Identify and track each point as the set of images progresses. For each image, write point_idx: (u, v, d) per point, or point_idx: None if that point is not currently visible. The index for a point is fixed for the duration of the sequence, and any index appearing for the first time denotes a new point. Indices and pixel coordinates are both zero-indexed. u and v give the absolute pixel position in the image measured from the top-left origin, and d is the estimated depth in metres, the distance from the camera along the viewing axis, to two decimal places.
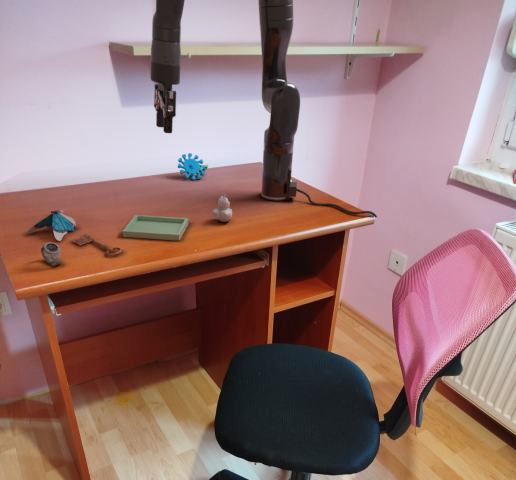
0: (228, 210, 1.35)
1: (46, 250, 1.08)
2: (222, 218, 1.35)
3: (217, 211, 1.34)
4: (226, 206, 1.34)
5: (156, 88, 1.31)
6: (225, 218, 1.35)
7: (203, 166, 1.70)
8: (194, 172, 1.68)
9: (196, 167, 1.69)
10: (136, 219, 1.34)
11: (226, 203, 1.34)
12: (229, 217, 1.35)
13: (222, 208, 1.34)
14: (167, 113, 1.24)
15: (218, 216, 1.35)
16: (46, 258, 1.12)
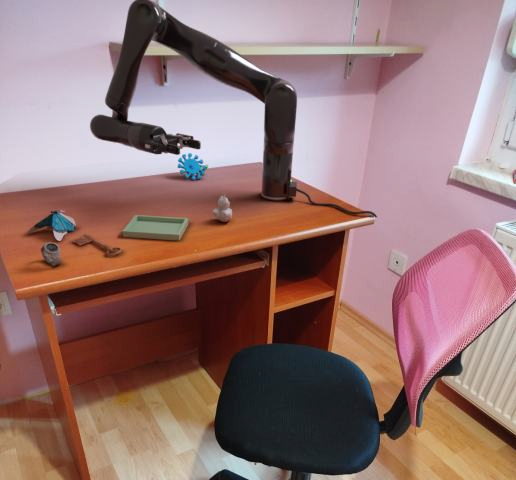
0: (228, 210, 1.35)
1: (46, 250, 1.08)
2: (222, 218, 1.35)
3: (217, 211, 1.34)
4: (226, 206, 1.34)
5: (178, 142, 1.41)
6: (225, 218, 1.35)
7: (203, 166, 1.70)
8: (194, 172, 1.68)
9: (196, 167, 1.69)
10: (136, 219, 1.34)
11: (226, 203, 1.34)
12: (229, 217, 1.35)
13: (222, 208, 1.34)
14: (157, 152, 1.30)
15: (218, 215, 1.35)
16: (46, 258, 1.12)
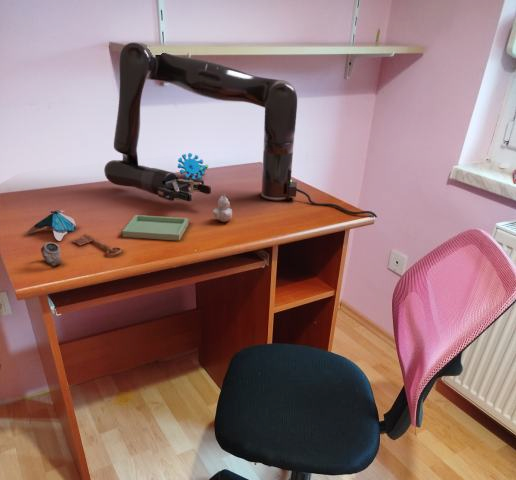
0: (228, 210, 1.35)
1: (46, 250, 1.08)
2: (222, 218, 1.35)
3: (217, 211, 1.34)
4: (226, 206, 1.34)
5: (189, 186, 1.46)
6: (225, 218, 1.35)
7: (203, 166, 1.70)
8: (194, 172, 1.68)
9: (196, 167, 1.69)
10: (136, 219, 1.34)
11: (226, 203, 1.34)
12: (229, 217, 1.35)
13: (222, 208, 1.34)
14: (170, 199, 1.36)
15: (218, 215, 1.35)
16: (46, 258, 1.12)
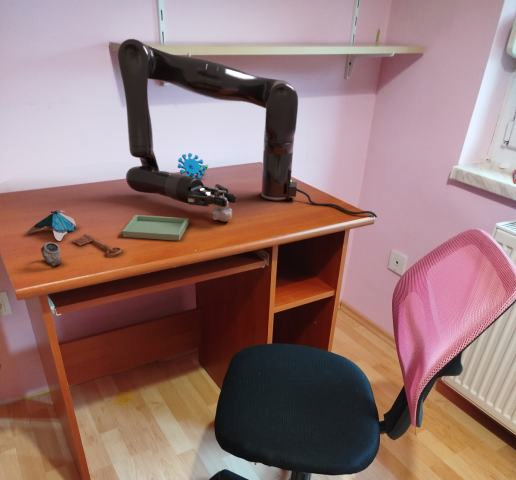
0: (228, 210, 1.35)
1: (46, 250, 1.08)
2: (222, 218, 1.35)
3: (217, 212, 1.34)
4: None
5: None
6: (225, 218, 1.35)
7: (203, 166, 1.70)
8: (194, 172, 1.68)
9: (196, 167, 1.69)
10: (136, 219, 1.34)
11: None
12: (229, 217, 1.35)
13: (221, 208, 1.34)
14: (205, 205, 1.32)
15: (218, 216, 1.35)
16: (46, 258, 1.12)
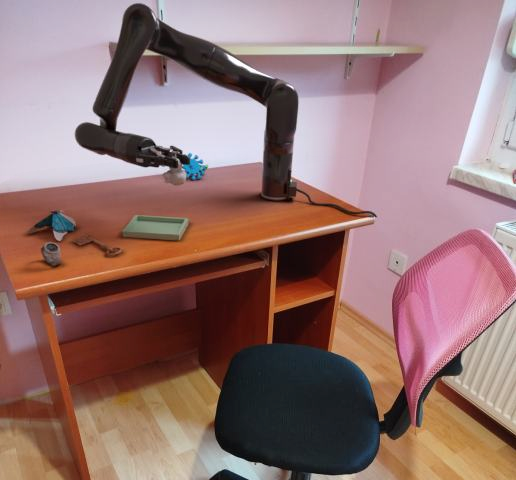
0: (180, 172, 1.23)
1: (46, 250, 1.08)
2: (174, 182, 1.24)
3: (168, 174, 1.22)
4: (178, 168, 1.23)
5: None
6: (177, 182, 1.23)
7: (203, 166, 1.70)
8: (194, 172, 1.68)
9: (196, 167, 1.69)
10: (136, 219, 1.34)
11: None
12: (182, 180, 1.24)
13: (174, 170, 1.23)
14: (154, 166, 1.21)
15: (170, 179, 1.23)
16: (46, 258, 1.12)
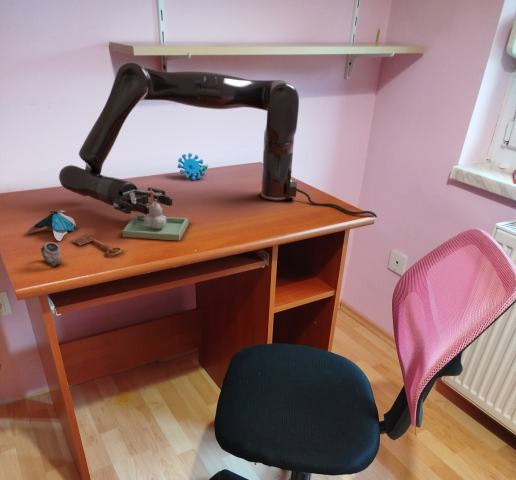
0: (160, 217, 1.28)
1: (46, 250, 1.08)
2: (154, 225, 1.28)
3: (148, 218, 1.27)
4: (158, 213, 1.27)
5: (150, 196, 1.34)
6: (157, 225, 1.27)
7: (203, 166, 1.70)
8: (194, 172, 1.68)
9: (196, 167, 1.69)
10: (136, 219, 1.34)
11: (158, 210, 1.27)
12: (162, 224, 1.28)
13: (154, 215, 1.27)
14: (126, 212, 1.24)
15: (150, 223, 1.27)
16: (46, 258, 1.12)
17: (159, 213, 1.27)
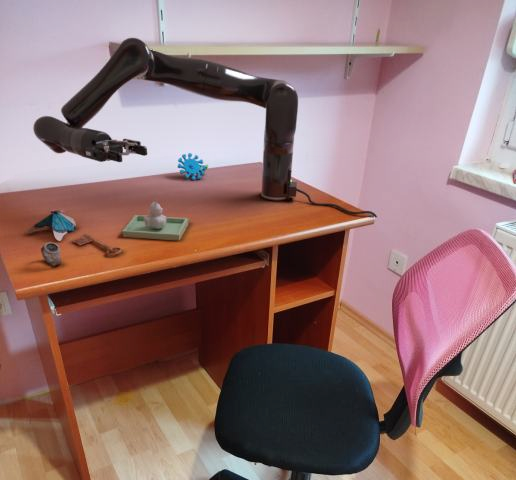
0: (160, 217, 1.28)
1: (46, 250, 1.08)
2: (154, 225, 1.28)
3: (148, 218, 1.27)
4: (158, 213, 1.27)
5: None
6: (157, 225, 1.27)
7: (203, 166, 1.70)
8: (194, 172, 1.68)
9: (196, 167, 1.69)
10: (136, 219, 1.34)
11: (158, 210, 1.27)
12: (162, 224, 1.28)
13: (154, 215, 1.27)
14: (98, 160, 1.21)
15: (150, 223, 1.27)
16: (46, 258, 1.12)
17: (159, 213, 1.27)
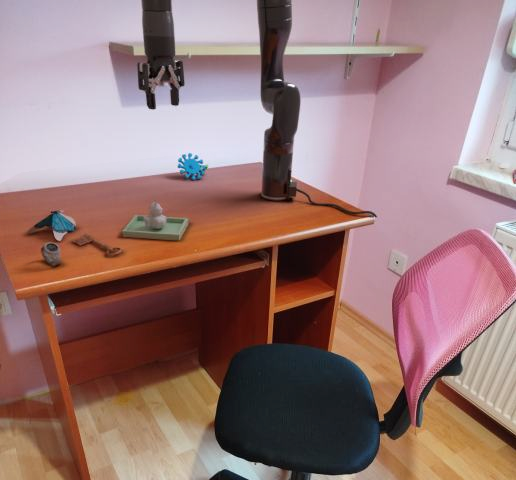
0: (160, 217, 1.28)
1: (46, 250, 1.08)
2: (154, 225, 1.28)
3: (148, 218, 1.27)
4: (158, 213, 1.27)
5: None
6: (157, 225, 1.27)
7: (203, 166, 1.70)
8: (194, 172, 1.68)
9: (196, 167, 1.69)
10: (136, 219, 1.34)
11: (158, 210, 1.27)
12: (162, 224, 1.28)
13: (154, 215, 1.27)
14: (139, 87, 1.19)
15: (150, 223, 1.27)
16: (46, 258, 1.12)
17: (159, 213, 1.27)
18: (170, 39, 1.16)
